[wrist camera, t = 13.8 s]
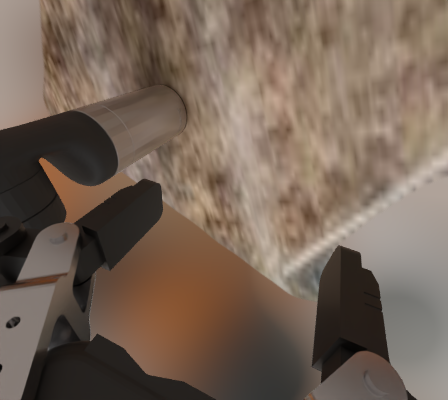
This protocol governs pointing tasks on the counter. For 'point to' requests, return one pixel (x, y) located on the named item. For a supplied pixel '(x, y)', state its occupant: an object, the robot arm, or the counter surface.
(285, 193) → the counter surface
